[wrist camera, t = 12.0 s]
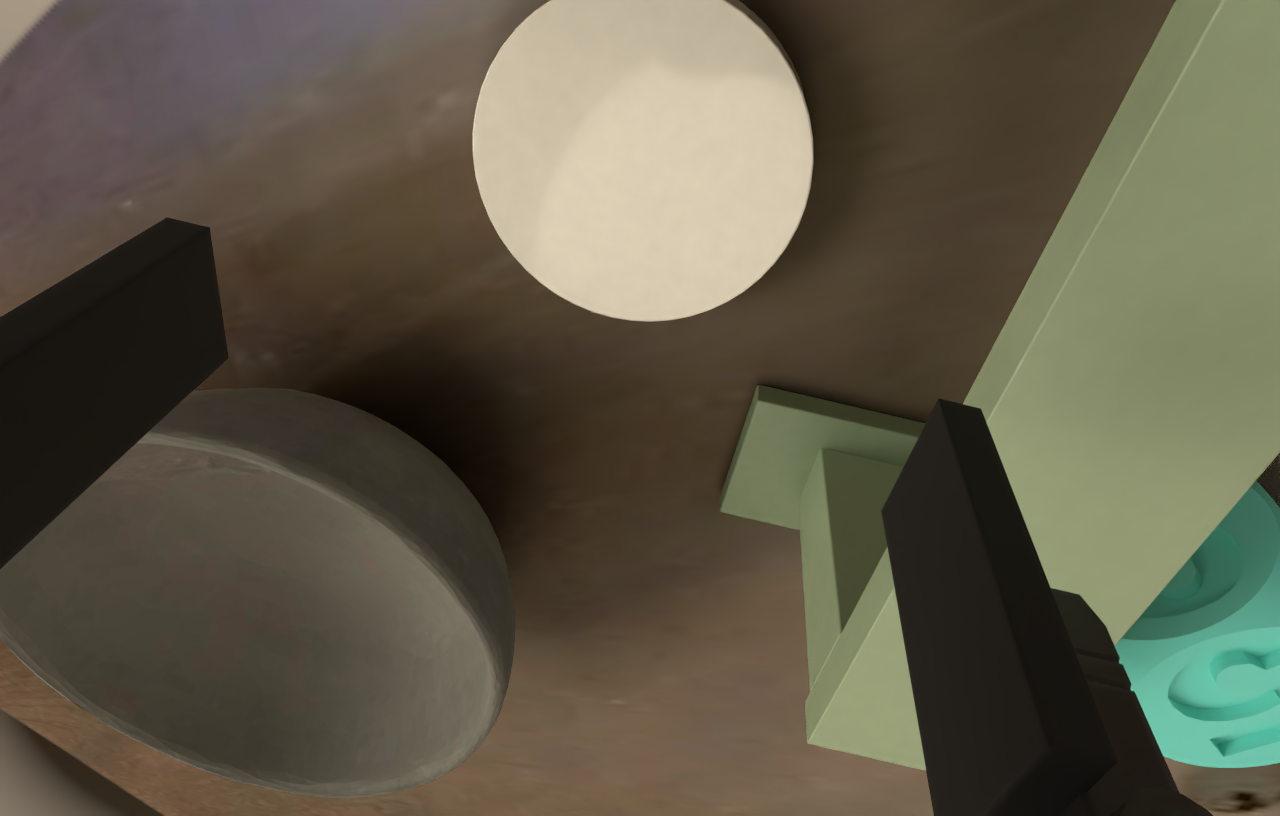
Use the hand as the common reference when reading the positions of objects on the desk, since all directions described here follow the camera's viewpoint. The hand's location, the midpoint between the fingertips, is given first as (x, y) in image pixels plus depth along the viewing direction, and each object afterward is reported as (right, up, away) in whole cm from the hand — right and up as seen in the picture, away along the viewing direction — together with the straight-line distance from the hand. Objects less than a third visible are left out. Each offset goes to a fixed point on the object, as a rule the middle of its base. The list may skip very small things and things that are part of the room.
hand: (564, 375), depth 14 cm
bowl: (-13, -4, +23) cm, 27 cm away
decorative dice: (+23, -6, +19) cm, 30 cm away
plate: (+2, +8, +12) cm, 15 cm away
